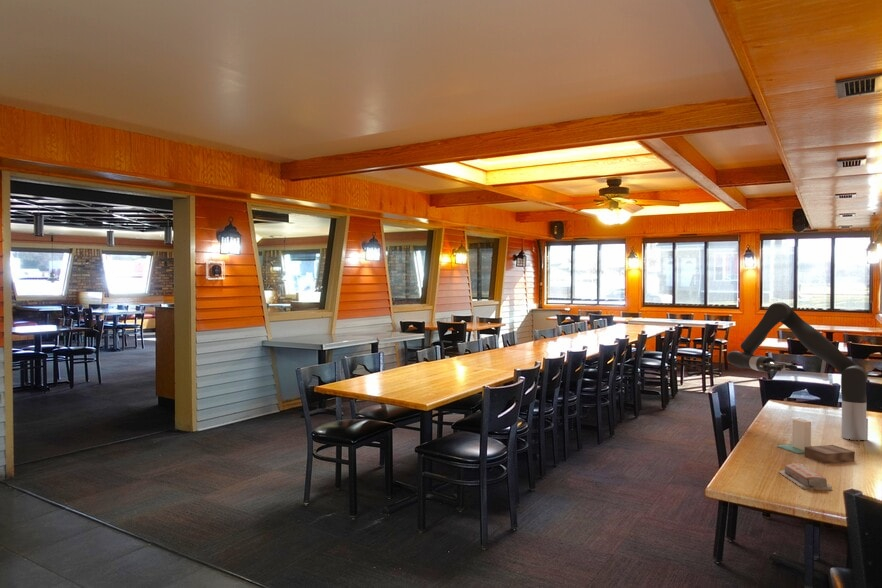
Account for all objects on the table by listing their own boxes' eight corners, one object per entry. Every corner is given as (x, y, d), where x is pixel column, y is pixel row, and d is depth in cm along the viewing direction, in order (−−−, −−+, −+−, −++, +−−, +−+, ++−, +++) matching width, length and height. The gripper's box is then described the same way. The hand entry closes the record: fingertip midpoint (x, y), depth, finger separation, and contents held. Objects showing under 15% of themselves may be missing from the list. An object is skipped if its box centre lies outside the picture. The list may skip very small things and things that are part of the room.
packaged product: (833, 477, 198) (803, 476, 199) (833, 491, 199) (802, 490, 200) (805, 461, 216) (777, 460, 217) (805, 474, 216) (777, 473, 217)
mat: (803, 444, 254) (803, 443, 254) (825, 451, 243) (825, 450, 243) (776, 446, 251) (776, 445, 251) (797, 454, 240) (797, 452, 240)
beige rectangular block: (798, 445, 250) (799, 418, 250) (810, 449, 244) (811, 421, 244) (792, 446, 249) (792, 418, 249) (803, 450, 244) (804, 422, 243)
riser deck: (832, 454, 240) (832, 444, 240) (854, 461, 230) (854, 451, 230) (804, 456, 237) (804, 446, 237) (825, 464, 227) (825, 453, 227)
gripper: (749, 356, 280) (775, 360, 264) (774, 355, 283) (801, 360, 267) (749, 371, 280) (775, 377, 264) (774, 370, 283) (801, 376, 267)
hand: (788, 368), depth 266 cm, fingers open, 8 cm apart
